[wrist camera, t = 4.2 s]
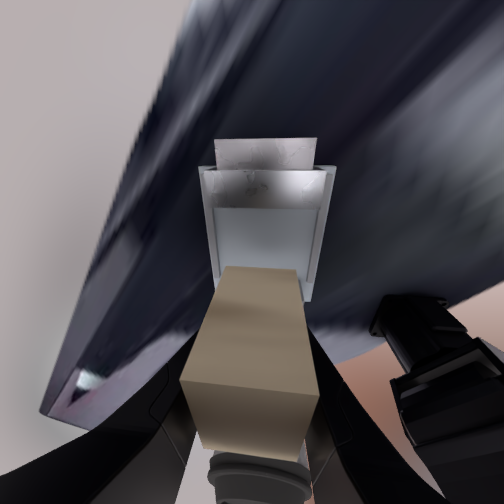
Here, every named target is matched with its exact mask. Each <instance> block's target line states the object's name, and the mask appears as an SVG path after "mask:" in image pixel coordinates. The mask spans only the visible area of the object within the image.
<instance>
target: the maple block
mask: <svg viewBox="0 0 504 504" xmlns="http://www.w3.org/2000/svg"><path fill="white" fill-rule="evenodd" d="M179 381H180V383H181V386H182V389H183V392H184V395H185V398H186V400H187V403H188V406H189V409H190V412H191V414H192V417H193V420H194V423H195V426H196V428H197V431H198V434H199V437H200V440H201V442H202V445H203V448H204V449H211V450H218V451H225V452H232V453H238V454H245V455H252V456H259V457H266V458H273V459H280V460H287V461H294V462H297V459H298V456H299V453H300V450H301V447H302V445H303V442H304V439H305V436H306V433H307V430H308V427H309V425H310V422H311V419H312V416H313V413H314V410H315V407H316V404H317V402H318V399H319V396H320V395H319V390H318V385H317V379H316V374H315V369H314V363H313V358H312V352H311V347H310V342H309V336H308V331H307V326H306V320H305V315H304V310H303V304H302V299H301V294H300V288H299V283H298V278H297V272H296V269H277V268H259V267H240V266H225V269H224V271H223V274H222V276H221V279H220V281H219V284H218V286H217V289H216V291H215V293H214V296H213V298H212V301H211V303H210V306H209V308H208V311H207V313H206V315H205V318H204V320H203V323H202V325H201V328H200V330H199V333H198V335H197V338H196V340H195V342H194V345H193V347H192V350H191V352H190V355H189V357H188V360H187V362H186V365H185V367H184V369H183V372H182V374H181V377H180V379H179Z"/></svg>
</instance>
